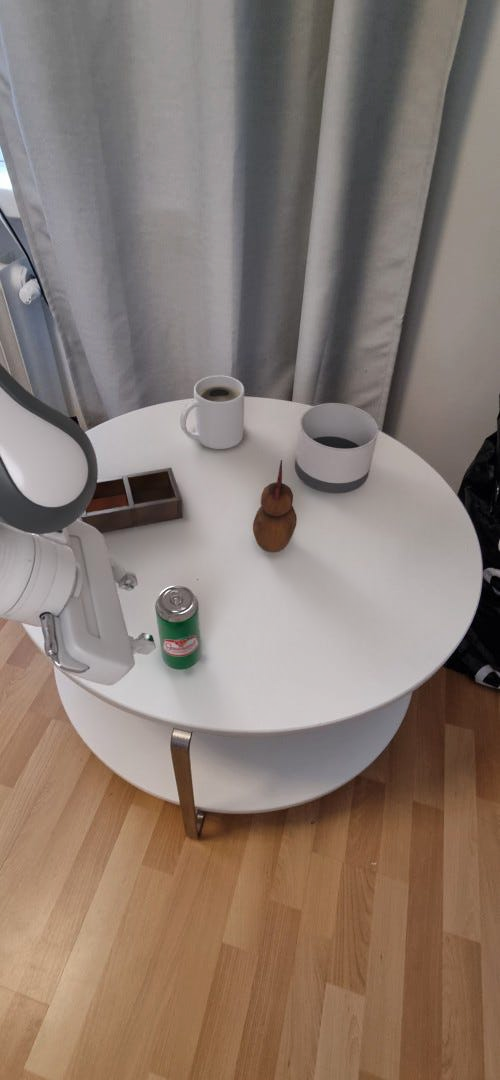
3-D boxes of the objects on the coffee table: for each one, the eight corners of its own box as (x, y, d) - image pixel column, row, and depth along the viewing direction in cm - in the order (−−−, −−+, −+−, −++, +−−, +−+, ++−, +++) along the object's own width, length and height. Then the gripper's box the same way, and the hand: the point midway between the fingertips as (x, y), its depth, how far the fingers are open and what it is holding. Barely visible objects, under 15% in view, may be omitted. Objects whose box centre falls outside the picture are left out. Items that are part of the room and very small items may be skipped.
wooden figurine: (267, 522, 94) (273, 448, 83) (299, 537, 92) (309, 462, 81) (245, 549, 90) (248, 474, 79) (278, 564, 88) (286, 490, 77)
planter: (381, 487, 101) (394, 438, 94) (317, 507, 97) (325, 458, 89) (342, 444, 109) (351, 396, 101) (281, 462, 105) (285, 412, 97)
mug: (245, 423, 113) (247, 377, 105) (239, 453, 106) (241, 407, 99) (189, 418, 113) (187, 371, 106) (180, 448, 107) (177, 401, 99)
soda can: (163, 674, 75) (156, 620, 66) (160, 641, 78) (152, 585, 69) (203, 669, 76) (200, 614, 67) (198, 636, 79) (195, 580, 70)
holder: (85, 536, 91) (81, 517, 88) (80, 501, 96) (76, 482, 93) (183, 518, 94) (181, 499, 91) (172, 485, 100) (171, 467, 97)
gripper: (68, 647, 52) (182, 672, 61) (43, 495, 64) (140, 536, 74) (28, 686, 54) (144, 705, 63) (12, 531, 67) (110, 566, 76)
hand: (142, 612), depth 69 cm, fingers open, 8 cm apart
